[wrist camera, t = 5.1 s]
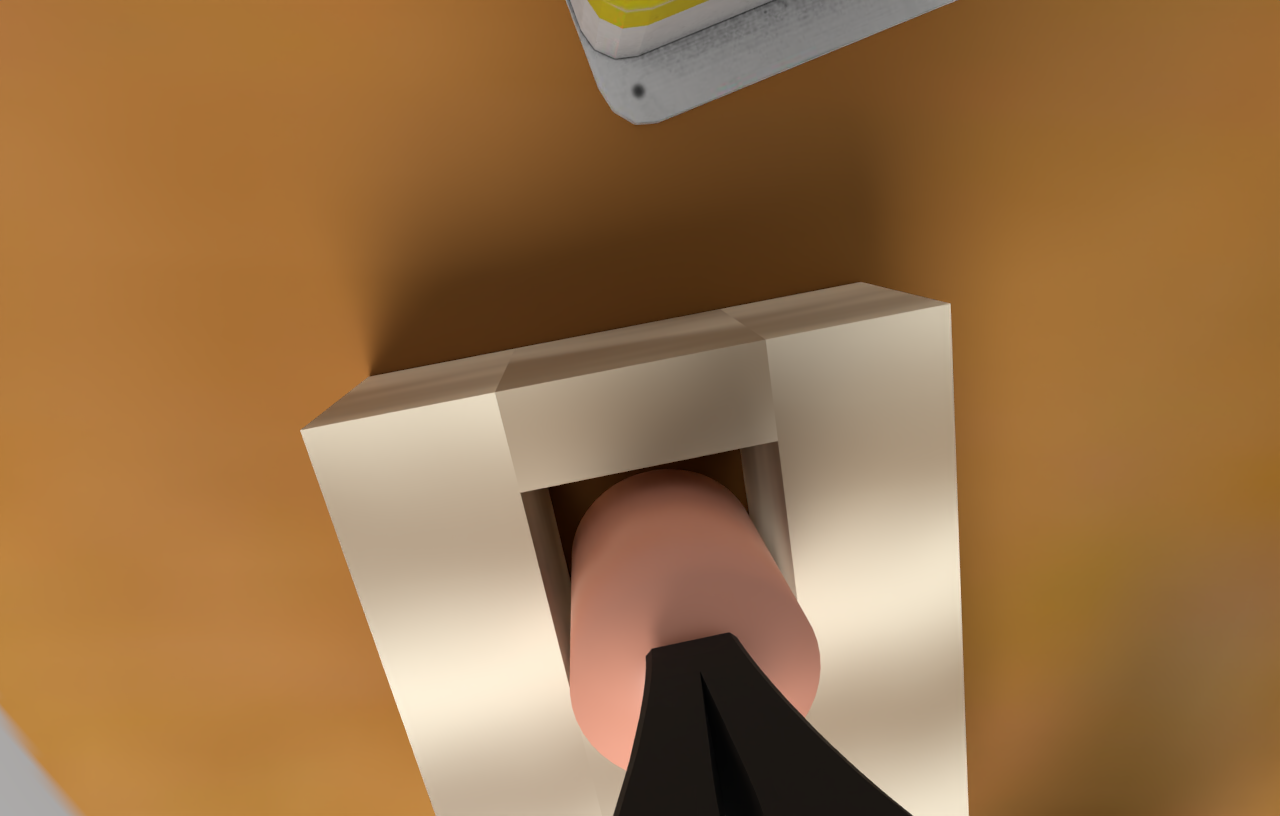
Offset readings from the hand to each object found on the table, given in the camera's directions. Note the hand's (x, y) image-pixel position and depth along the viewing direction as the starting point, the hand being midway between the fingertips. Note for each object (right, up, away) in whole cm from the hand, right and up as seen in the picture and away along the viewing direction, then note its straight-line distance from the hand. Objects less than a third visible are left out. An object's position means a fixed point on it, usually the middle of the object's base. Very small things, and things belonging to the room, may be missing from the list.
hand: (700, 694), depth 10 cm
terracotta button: (0, +1, +4) cm, 4 cm away
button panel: (0, -2, +8) cm, 9 cm away
